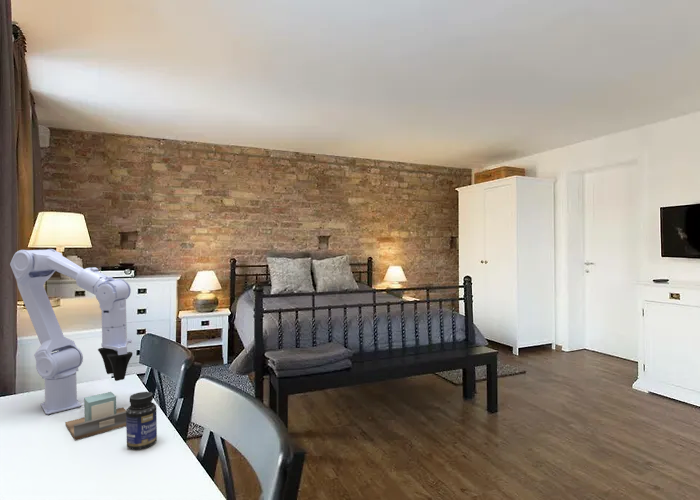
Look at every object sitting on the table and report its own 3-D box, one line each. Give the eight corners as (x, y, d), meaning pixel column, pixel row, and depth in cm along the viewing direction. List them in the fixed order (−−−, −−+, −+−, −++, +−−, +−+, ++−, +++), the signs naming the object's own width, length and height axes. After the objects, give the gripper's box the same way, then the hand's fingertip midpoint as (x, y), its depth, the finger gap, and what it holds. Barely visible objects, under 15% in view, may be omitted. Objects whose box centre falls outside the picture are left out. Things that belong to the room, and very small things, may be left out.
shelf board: (65, 425, 104) (65, 412, 104) (123, 410, 113) (122, 398, 113) (75, 440, 96) (74, 426, 96) (136, 423, 105) (136, 410, 105)
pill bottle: (144, 452, 91) (143, 401, 91) (120, 449, 92) (119, 399, 92) (162, 438, 97) (161, 391, 97) (139, 436, 98) (138, 389, 98)
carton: (84, 421, 105) (84, 397, 104) (111, 414, 109) (111, 391, 108) (89, 427, 101) (88, 403, 101) (116, 420, 105) (116, 396, 105)
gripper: (139, 327, 110) (140, 379, 110) (122, 320, 120) (123, 367, 120) (108, 331, 105) (110, 386, 105) (94, 323, 115) (95, 372, 116)
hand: (115, 376), depth 112 cm, fingers open, 7 cm apart
